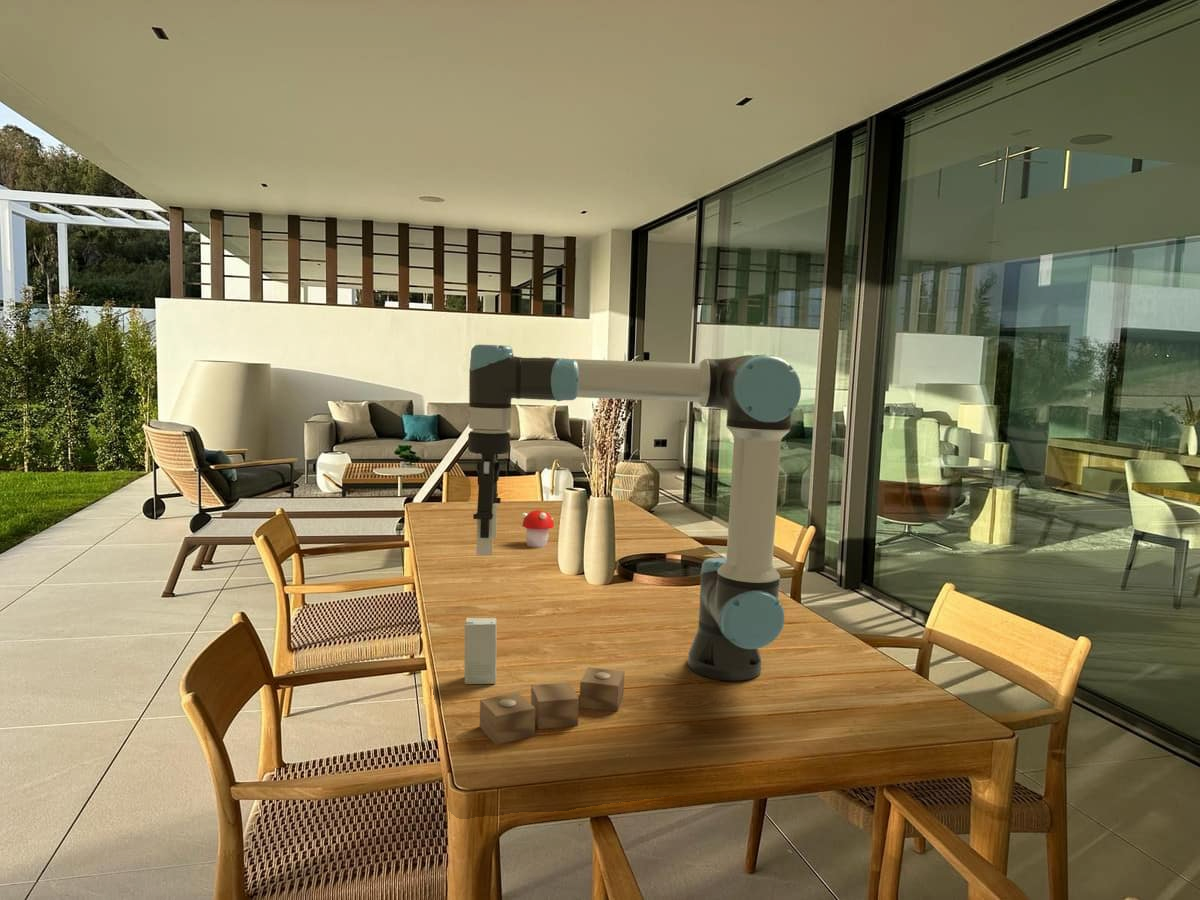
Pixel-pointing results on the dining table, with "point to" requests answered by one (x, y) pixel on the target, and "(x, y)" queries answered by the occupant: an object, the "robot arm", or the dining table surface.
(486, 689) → the dining table surface
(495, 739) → the dotted walnut block
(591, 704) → the dotted walnut block
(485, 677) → the skincare box
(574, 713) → the plain walnut block
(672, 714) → the dining table surface
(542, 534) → the mushroom
